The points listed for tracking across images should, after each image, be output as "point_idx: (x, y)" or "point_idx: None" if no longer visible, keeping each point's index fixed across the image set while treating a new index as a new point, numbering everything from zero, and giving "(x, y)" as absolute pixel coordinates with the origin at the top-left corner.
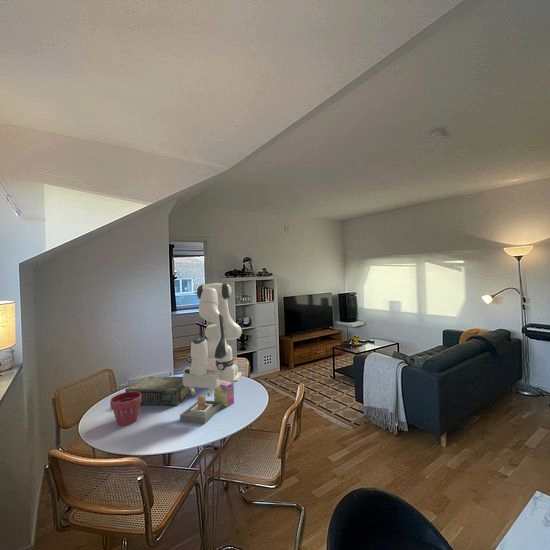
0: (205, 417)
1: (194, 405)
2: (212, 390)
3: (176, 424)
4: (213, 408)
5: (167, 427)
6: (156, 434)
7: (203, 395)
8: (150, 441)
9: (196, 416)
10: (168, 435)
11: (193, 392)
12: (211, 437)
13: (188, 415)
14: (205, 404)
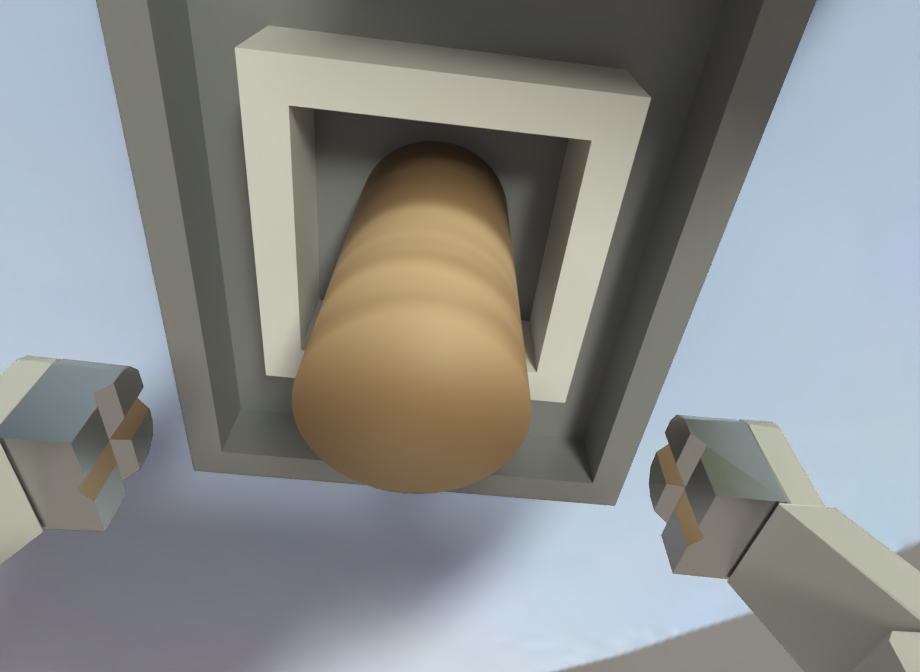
0: (618, 490)
1: (169, 105)
2: (901, 561)
3: None
4: (694, 247)
5: (184, 519)
6: (181, 601)
7: (444, 342)
8: (220, 659)
9: (475, 489)
10: (308, 605)
11: (94, 510)
12: (732, 607)
13: (336, 476)
14: (513, 261)
